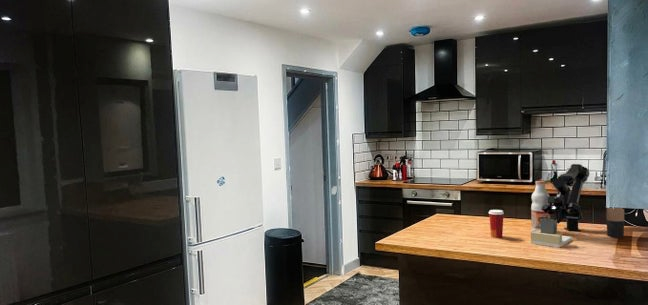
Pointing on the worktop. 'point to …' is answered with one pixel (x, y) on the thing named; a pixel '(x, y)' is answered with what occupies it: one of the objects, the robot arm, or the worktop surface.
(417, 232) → the worktop surface
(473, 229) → the worktop surface
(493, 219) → the paper cup
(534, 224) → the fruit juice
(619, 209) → the travel mug
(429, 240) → the worktop surface
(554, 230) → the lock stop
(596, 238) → the worktop surface
